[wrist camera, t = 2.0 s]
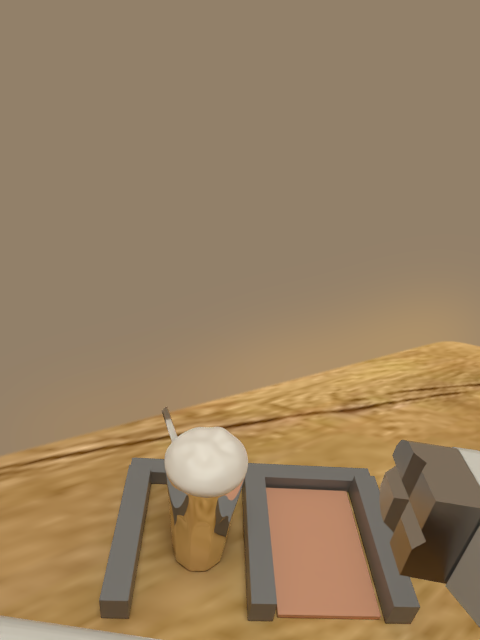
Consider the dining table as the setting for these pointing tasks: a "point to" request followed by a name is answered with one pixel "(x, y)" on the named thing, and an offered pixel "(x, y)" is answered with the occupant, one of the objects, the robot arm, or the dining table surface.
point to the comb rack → (285, 545)
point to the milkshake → (202, 491)
